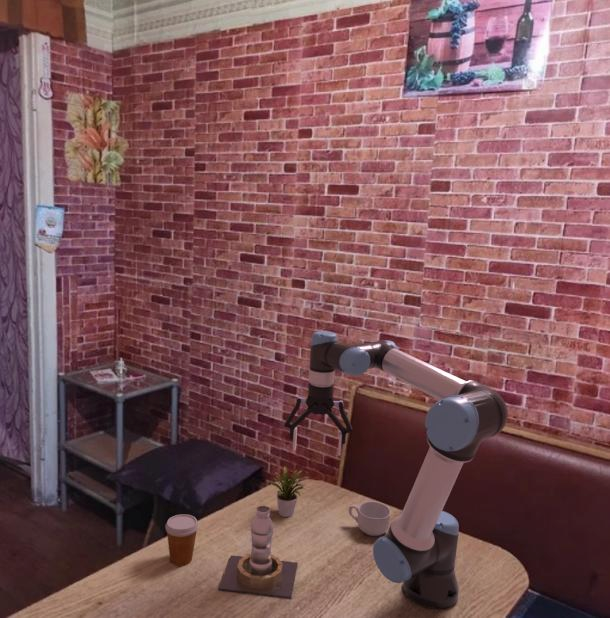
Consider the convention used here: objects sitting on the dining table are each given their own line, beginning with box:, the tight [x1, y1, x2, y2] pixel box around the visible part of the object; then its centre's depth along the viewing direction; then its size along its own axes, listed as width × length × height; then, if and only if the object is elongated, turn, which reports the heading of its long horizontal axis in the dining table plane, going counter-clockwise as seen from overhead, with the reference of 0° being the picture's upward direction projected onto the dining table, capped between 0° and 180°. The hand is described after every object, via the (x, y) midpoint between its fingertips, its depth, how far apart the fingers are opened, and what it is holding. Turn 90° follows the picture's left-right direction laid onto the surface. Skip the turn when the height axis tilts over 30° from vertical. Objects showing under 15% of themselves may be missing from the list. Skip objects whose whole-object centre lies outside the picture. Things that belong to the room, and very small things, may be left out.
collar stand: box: [217, 553, 299, 600], centre depth 168 cm, size 20×16×4 cm
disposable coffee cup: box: [164, 514, 200, 567], centre depth 173 cm, size 10×10×12 cm
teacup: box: [348, 500, 392, 537], centre depth 196 cm, size 14×11×8 cm
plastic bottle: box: [249, 505, 275, 576], centre depth 167 cm, size 6×7×20 cm
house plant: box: [269, 465, 309, 518], centre depth 202 cm, size 14×14×16 cm
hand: (316, 451), depth 179 cm, fingers open, 13 cm apart
